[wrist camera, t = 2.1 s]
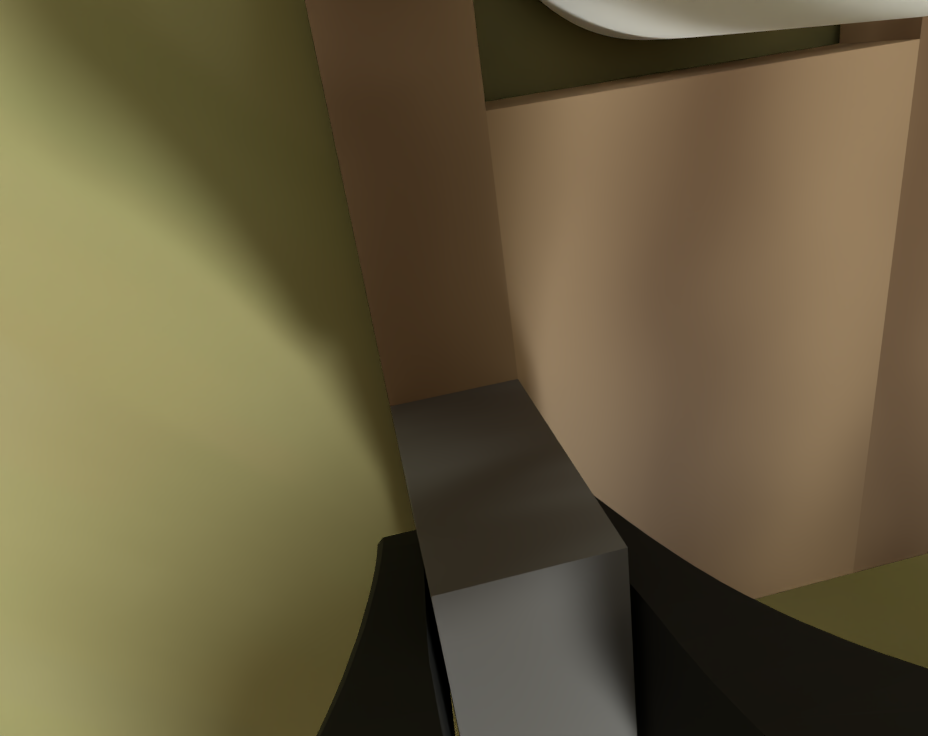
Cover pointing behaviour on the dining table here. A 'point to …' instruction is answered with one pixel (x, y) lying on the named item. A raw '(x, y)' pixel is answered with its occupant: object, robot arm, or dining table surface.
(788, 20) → the can
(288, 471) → the dining table surface
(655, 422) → the tan channel tray
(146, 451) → the dining table surface
